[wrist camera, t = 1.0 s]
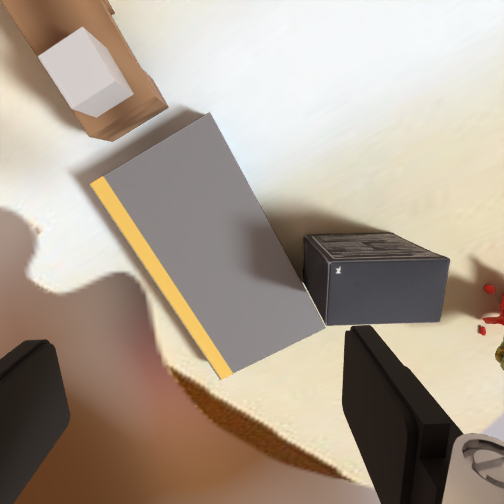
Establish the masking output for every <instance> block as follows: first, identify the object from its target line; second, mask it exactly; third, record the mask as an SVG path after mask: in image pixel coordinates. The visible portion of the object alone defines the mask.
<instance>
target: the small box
mask: <svg viewBox="0 0 504 504" xmlns="http://www.w3.org/2000/svg"><path fill="white" fill-rule="evenodd" d="M449 264H450V259H449V258H447V257H445V256H441V255H439V254H436V253H434V252H431V251H429V250H427V249H424V248H423V247H420V246H418V245H416V244H414V243H412V242H410V241H407V240H405V239H403V238H401V237H399V236H397V235H395V234H394V233H355V234H316V235H305V237H304V269H303V278H304V280H303V282H304V284H305V286H306V288H307V290H308V292H309V293H310V295H311V297H312V299H313V301H314V303H315V305H316V307H317V309H318V311H319V313H320V315H321V317H322V318H323V320H324V323H325V325H326V326H332V325H361V324H392V323H426V322H439V321H440V317H441V313H442V307H443V301H444V295H445V288H446V282H447V277H448V270H449Z"/></svg>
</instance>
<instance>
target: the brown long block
mask: <svg viewBox="0 0 504 504" xmlns="http://www.w3.org/2000/svg"><path fill="white" fill-rule="evenodd" d="M1 1H2V3H3V4H4V6H5V8H6V9H7V11H8V12H9V14H10V15H11V17H12V18H13V20H14V21H15V23H16V25H17V26H18V28H19V29H20V31H21V32H22V34H23V35H24V37H25V38H26V40H27V41H28V43H29V45H30V46H31V48H32V49H33V51H34V52H35V54H36V55H37V57H38V56H39V55H41V54H42V53H44V52H45V51H47V50H48V49H50V48H51V47H53V46H54V45H56V44H57V43H59V42H60V41H62V40H63V39H65V38H66V37H68V36H69V35H71V34H72V33H73V32H75V31H76V30H78V29H79V28H81V27H84V28H85V29H86V30H87V31H88V32H89V33H90V34H91V35H93V36H94V37H95V38H96V39H97V40H98V41H99V42H101V43H102V44H103V45H104V46H105V47H106V48H107V49H108V51H109V53H110V54H111V56H112V58H113V59H114V61H115V63H116V64H117V66H118V68H119V69H120V71H121V73H122V75H123V76H124V78H125V80H126V81H127V83H128V85H129V86H130V88H131V90H132V91H133V93H134V94H133V95H132V96H130V97H129V98H127V99H125V100H124V101H122V102H121V103H119V104H117V105H116V106H114V107H113V108H111V109H109V110H108V111H106V112H105V113H103V114H101V115H100V116H98V117H97V118H96V117H93V116H90V115H87V114H85V113H82V112H79V111H76V110H73V109H72V111H73V112H74V114H75V116H76V117H77V119H78V120H79V122H80V123H81V125H82V126H83V128H84V129H85V131H86V132H87V134H88V136H89V137H92V138H97V139H102V140H106V141H111V142H113V141H115V140H117V139H118V138H120V137H122V136H123V135H125V134H126V133H128V132H130V131H131V130H133V129H135V128H136V127H138V126H140V125H141V124H143V123H144V122H146V121H148V120H149V119H151V118H153V117H154V116H156V115H157V114H159V113H161V112H162V111H164V110H166V109H167V108H169V107H168V105H167V104H166V102H165V100H164V98H163V97H162V95H161V93H160V91H159V89H158V88H157V86H156V84H155V82H154V81H153V79H152V78H151V77H150V76H149V75H148V74H147V73H146V72H145V71H144V70H143V69H142V68H141V67H140V65H139V63H138V61H137V60H136V58H135V56H134V55H133V53H132V51H131V49H130V48H129V46H128V44H127V42H126V41H125V39H124V37H123V35H122V34H121V32H120V30H119V28H118V27H117V25H116V23H115V21H114V20H113V18H112V16H111V15H113V14H114V13H115V12H114V10H113V9H112V7H111V5H110V3H109V2H108V0H1ZM39 60H40V59H39ZM40 62H41V61H40ZM42 65H43V64H42ZM44 68H45V67H44ZM46 71H47V70H46ZM48 74H49V73H48ZM50 77H51V76H50ZM51 79H52V78H51ZM52 80H53V79H52ZM53 82H54V81H53ZM55 85H56V84H55ZM57 88H58V87H57ZM59 91H60V90H59ZM61 94H62V93H61ZM63 97H64V96H63ZM64 99H65V98H64ZM66 102H67V101H66ZM68 105H69V104H68ZM70 108H71V107H70Z"/></svg>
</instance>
